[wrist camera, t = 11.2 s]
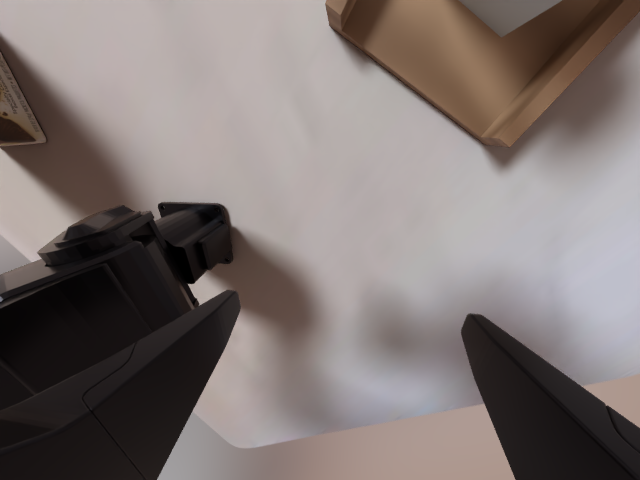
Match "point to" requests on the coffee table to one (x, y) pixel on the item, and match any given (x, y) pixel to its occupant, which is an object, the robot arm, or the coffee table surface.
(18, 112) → the coffee box
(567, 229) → the coffee table surface
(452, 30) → the tray
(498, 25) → the tall block
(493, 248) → the coffee table surface
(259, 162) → the coffee table surface
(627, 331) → the coffee table surface
